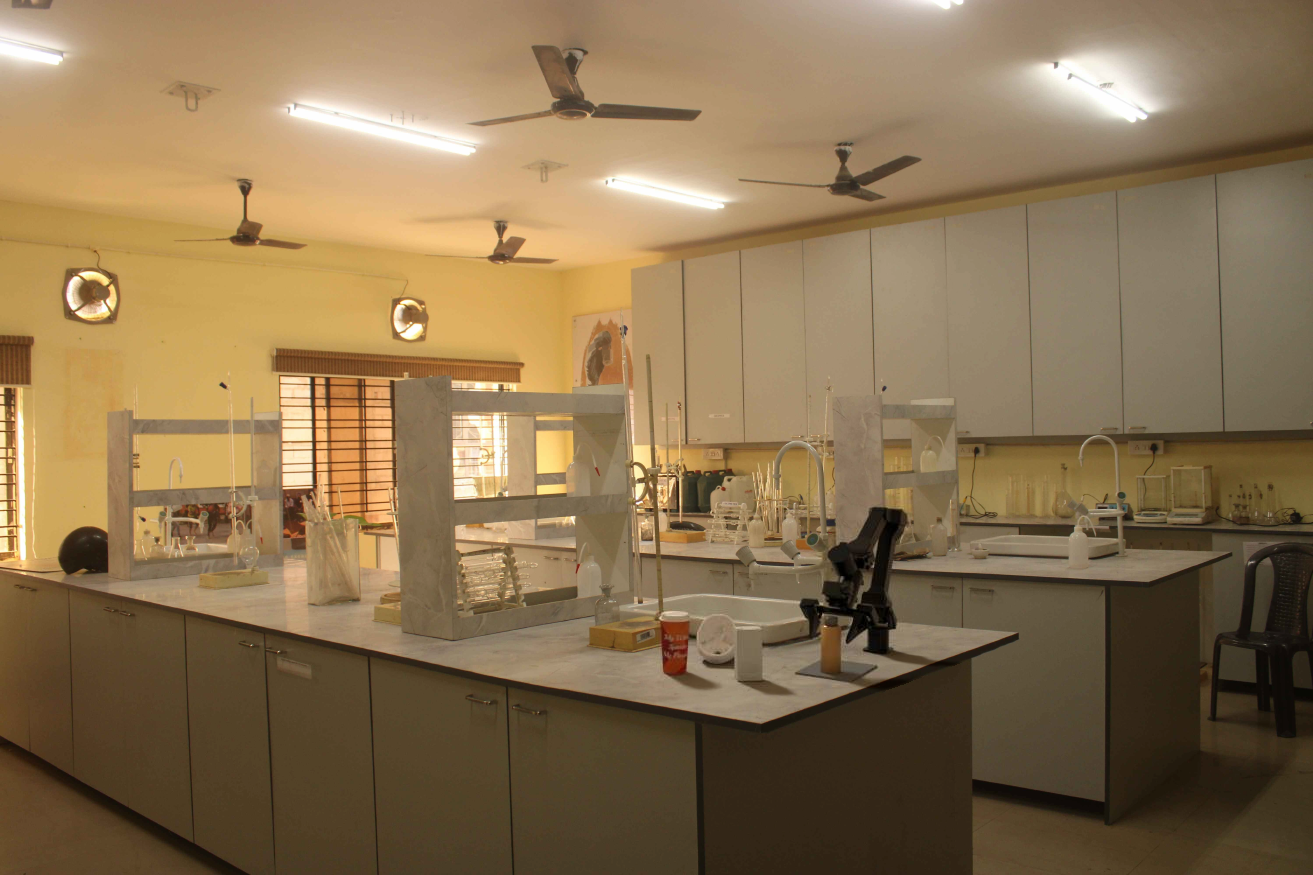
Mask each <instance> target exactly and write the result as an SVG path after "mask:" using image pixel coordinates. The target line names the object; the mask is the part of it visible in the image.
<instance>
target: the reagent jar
mask: <svg viewBox="0 0 1313 875" xmlns="http://www.w3.org/2000/svg"><path fill="white" fill-rule="evenodd" d="M823 622H824V623H823V624H820V660H821V672H822V673H825V674H840V673H841V660H842V625H841V624H839V616H835V615H828V616H824V619H823Z"/></svg>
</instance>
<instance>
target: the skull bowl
mask: <svg viewBox="0 0 1313 875" xmlns="http://www.w3.org/2000/svg"><path fill="white" fill-rule="evenodd" d="M734 627H736V624H735V620H733V619H732V618H731V617H730V616H729V615H727V614H720V613H719V614H717V613H714V614H710V615H708V616H706V617H705V618H704V619H703V621H702V622H701V624H700V626H699V628H698V630H697V634H696V649H697V652H698V654H699V655H700V657H702V658H703V659H704V660H705V661H707V662H708V663H710V664H714V665H720V664H723V663H727V662H729V661H730V660H732V659H733V658H734Z"/></svg>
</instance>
